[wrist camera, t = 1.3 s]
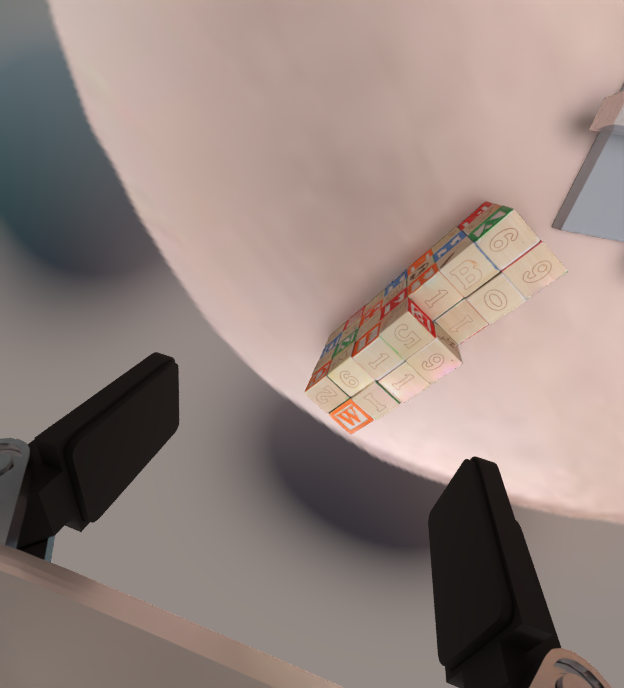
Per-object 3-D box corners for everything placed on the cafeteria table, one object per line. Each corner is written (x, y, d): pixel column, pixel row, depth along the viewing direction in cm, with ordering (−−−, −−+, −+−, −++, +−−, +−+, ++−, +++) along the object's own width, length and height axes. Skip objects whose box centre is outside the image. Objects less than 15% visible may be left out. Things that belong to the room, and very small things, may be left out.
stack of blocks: (485, 198, 29) (532, 211, 19) (527, 247, 30) (594, 285, 20) (328, 336, 40) (301, 394, 29) (363, 369, 41) (349, 437, 30)
